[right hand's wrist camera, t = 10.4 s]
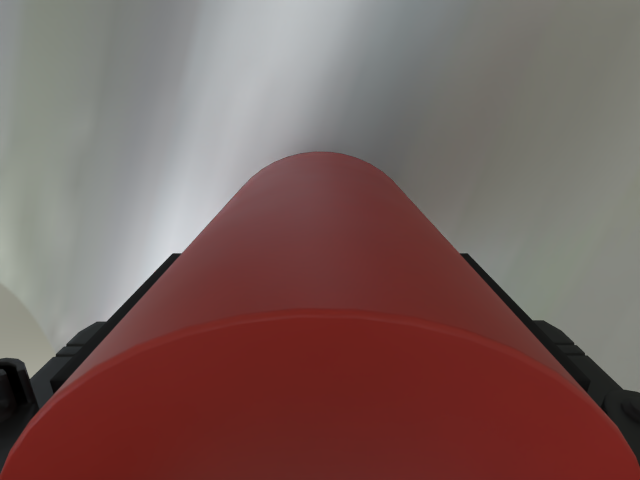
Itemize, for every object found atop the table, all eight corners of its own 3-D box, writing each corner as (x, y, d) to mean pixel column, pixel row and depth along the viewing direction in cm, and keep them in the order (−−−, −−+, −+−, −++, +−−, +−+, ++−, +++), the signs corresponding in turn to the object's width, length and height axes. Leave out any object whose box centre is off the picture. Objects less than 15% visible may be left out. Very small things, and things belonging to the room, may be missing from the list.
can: (186, 274, 18) (-92, 636, 6) (291, 106, 15) (180, 124, 3) (342, 364, 19) (378, 782, 8) (460, 227, 17) (803, 535, 5)
